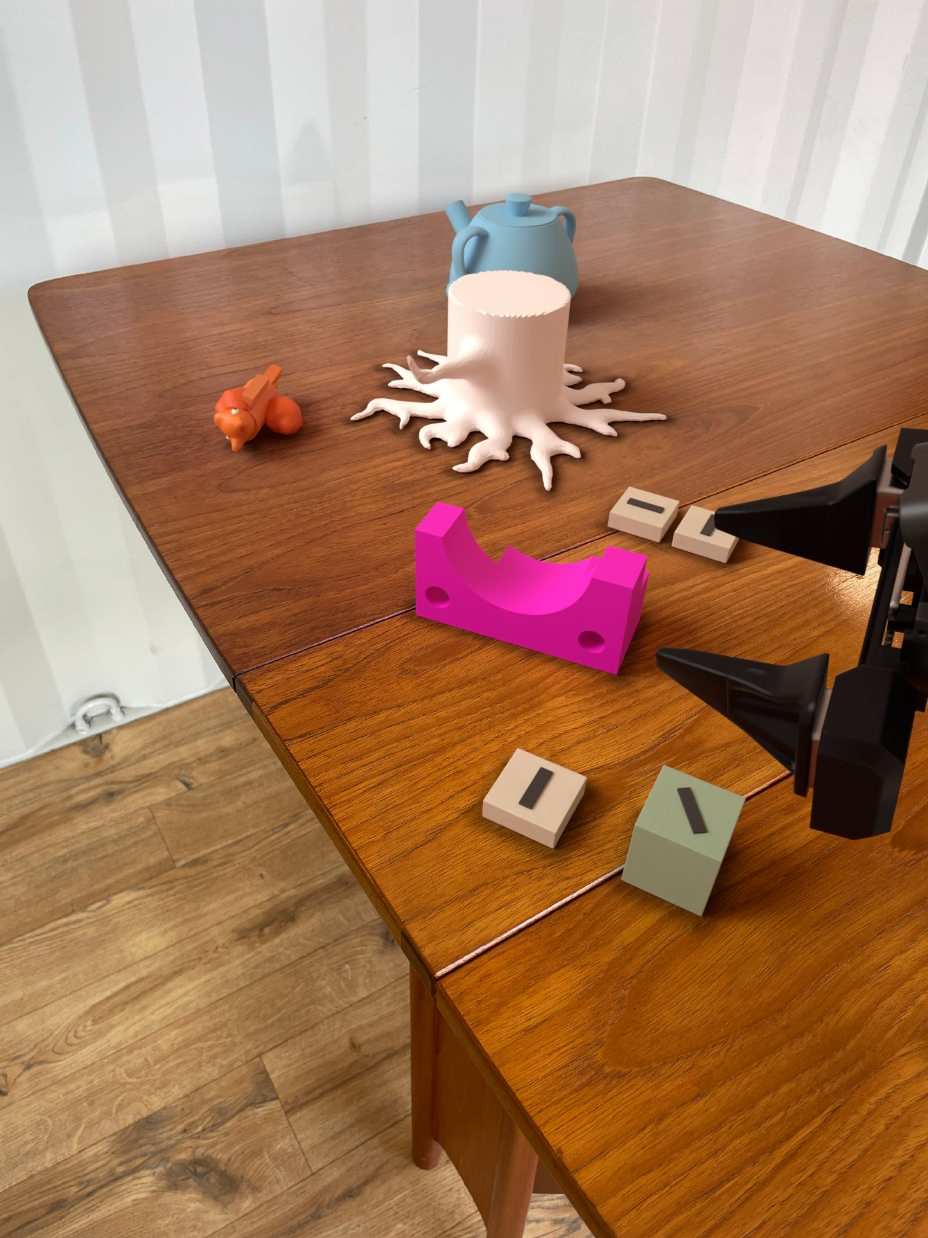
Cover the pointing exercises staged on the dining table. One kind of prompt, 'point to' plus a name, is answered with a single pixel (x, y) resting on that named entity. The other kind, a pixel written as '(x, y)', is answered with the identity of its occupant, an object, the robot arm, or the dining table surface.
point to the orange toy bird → (256, 409)
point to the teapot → (514, 240)
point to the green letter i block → (681, 839)
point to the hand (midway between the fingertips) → (687, 583)
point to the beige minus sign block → (534, 797)
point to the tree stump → (504, 372)
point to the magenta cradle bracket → (529, 593)
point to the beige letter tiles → (655, 517)
